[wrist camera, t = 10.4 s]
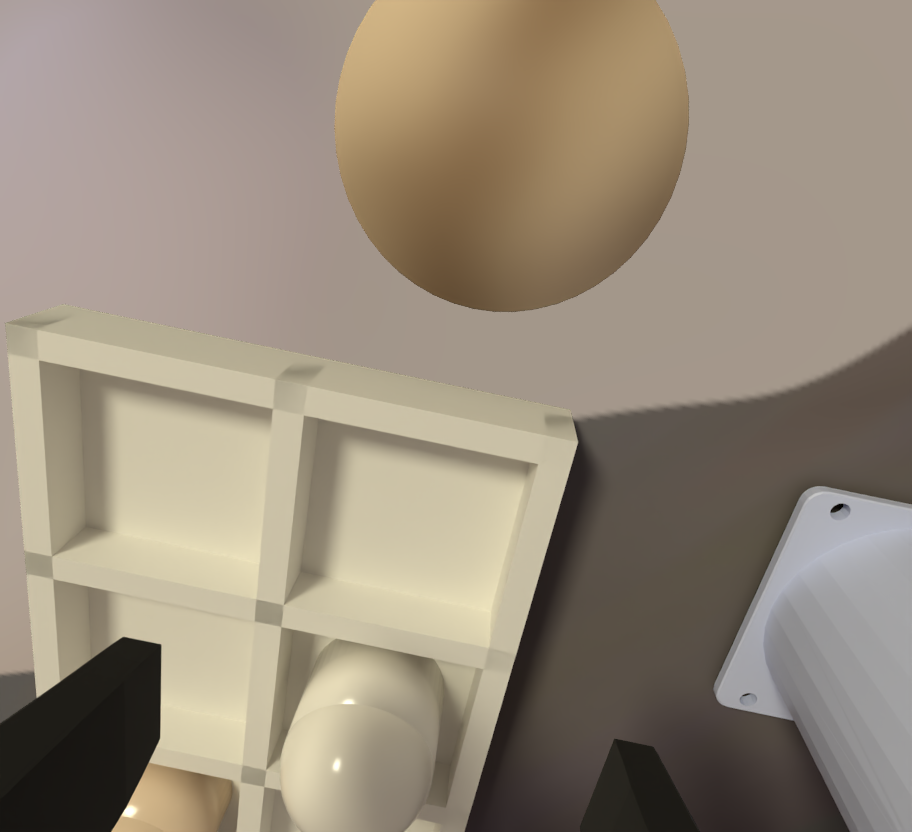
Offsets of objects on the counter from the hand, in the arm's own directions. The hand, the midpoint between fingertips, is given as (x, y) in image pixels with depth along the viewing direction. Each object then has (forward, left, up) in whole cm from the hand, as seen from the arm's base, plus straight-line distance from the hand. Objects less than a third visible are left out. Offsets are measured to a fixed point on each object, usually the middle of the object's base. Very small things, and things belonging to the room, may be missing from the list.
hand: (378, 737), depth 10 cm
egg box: (+4, +8, -9) cm, 13 cm away
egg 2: (+1, +8, -9) cm, 12 cm away
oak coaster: (0, -9, -9) cm, 13 cm away
